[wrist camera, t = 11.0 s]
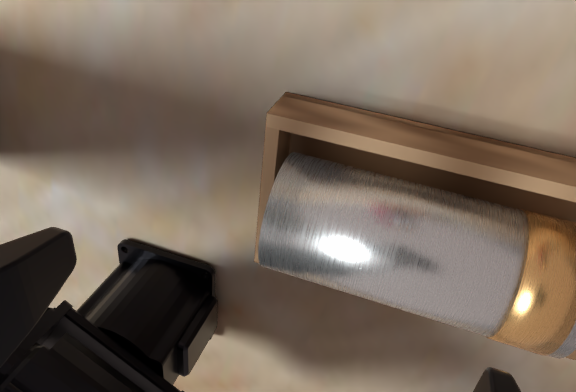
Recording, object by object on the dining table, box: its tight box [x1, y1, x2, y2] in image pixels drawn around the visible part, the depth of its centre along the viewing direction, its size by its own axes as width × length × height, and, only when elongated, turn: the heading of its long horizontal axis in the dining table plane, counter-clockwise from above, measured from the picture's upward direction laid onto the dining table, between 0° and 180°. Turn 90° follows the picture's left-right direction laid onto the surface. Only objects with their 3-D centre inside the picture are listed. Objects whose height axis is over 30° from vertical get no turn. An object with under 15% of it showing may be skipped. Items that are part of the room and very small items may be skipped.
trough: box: [254, 92, 576, 360], centre depth 21 cm, size 15×8×2 cm, turn 85°
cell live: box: [258, 152, 576, 359], centre depth 20 cm, size 13×5×5 cm, turn 85°
